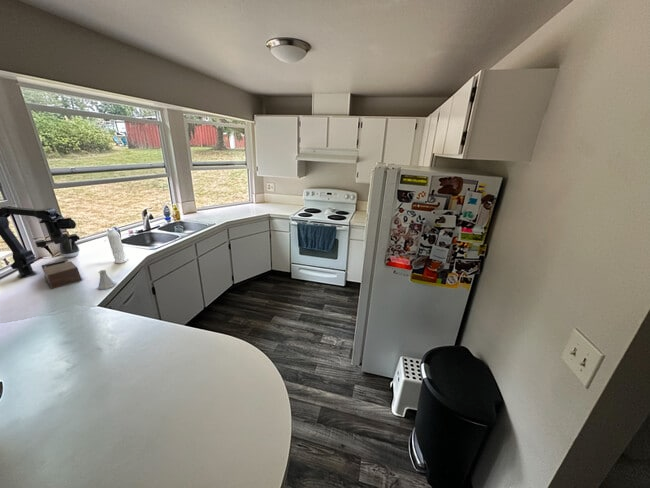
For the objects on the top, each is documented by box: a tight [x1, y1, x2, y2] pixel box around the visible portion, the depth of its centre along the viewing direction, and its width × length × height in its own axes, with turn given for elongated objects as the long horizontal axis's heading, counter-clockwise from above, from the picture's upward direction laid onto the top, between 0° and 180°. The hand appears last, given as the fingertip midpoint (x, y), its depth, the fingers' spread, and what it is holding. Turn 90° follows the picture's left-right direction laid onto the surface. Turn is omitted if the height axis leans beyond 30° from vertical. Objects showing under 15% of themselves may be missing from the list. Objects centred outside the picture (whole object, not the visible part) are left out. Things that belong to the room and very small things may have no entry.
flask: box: [97, 269, 116, 290], centre depth 144 cm, size 7×7×10 cm
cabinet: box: [41, 260, 83, 289], centre depth 150 cm, size 15×13×9 cm
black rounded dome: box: [58, 240, 81, 258], centre depth 182 cm, size 10×10×15 cm
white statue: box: [106, 227, 127, 264], centre depth 173 cm, size 9×6×25 cm
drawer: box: [41, 259, 69, 269], centre depth 156 cm, size 18×11×7 cm, turn 54°
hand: (62, 253), depth 157 cm, fingers open, 9 cm apart
